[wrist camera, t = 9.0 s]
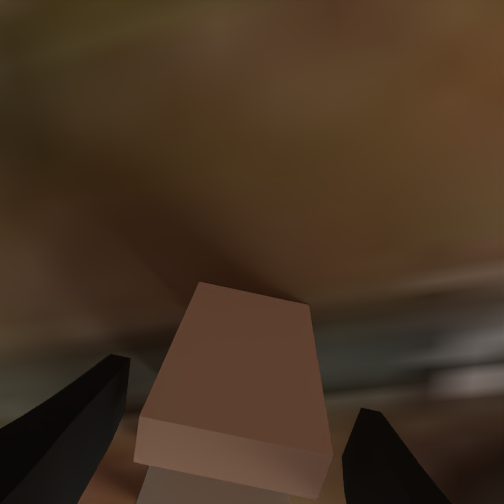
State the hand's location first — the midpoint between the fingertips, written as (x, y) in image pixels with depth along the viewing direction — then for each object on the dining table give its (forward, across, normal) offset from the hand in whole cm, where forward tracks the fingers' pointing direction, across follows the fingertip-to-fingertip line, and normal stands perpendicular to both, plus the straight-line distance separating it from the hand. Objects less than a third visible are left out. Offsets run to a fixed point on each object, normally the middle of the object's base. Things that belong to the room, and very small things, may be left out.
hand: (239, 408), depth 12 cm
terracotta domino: (+6, 0, 0) cm, 6 cm away
